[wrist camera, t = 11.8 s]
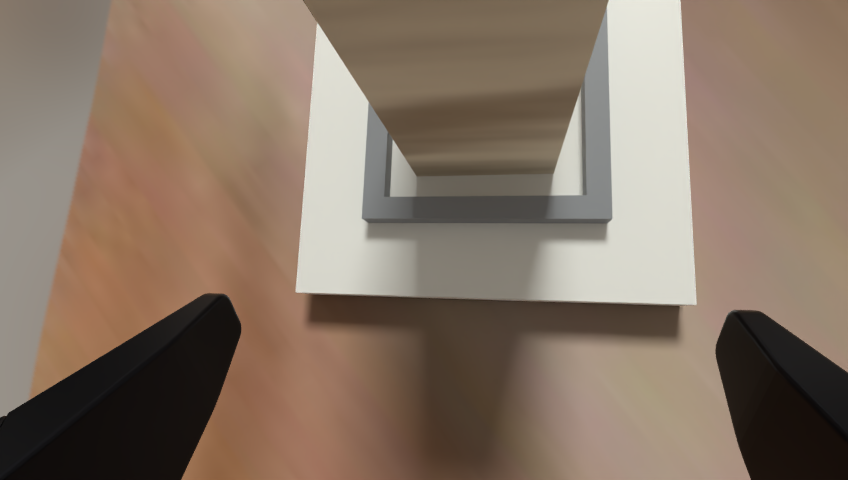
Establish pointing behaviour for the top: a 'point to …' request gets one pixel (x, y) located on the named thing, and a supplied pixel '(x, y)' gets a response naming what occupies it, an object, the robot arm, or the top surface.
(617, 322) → the top surface
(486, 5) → the maple pillar
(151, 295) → the top surface
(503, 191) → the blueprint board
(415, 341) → the top surface
